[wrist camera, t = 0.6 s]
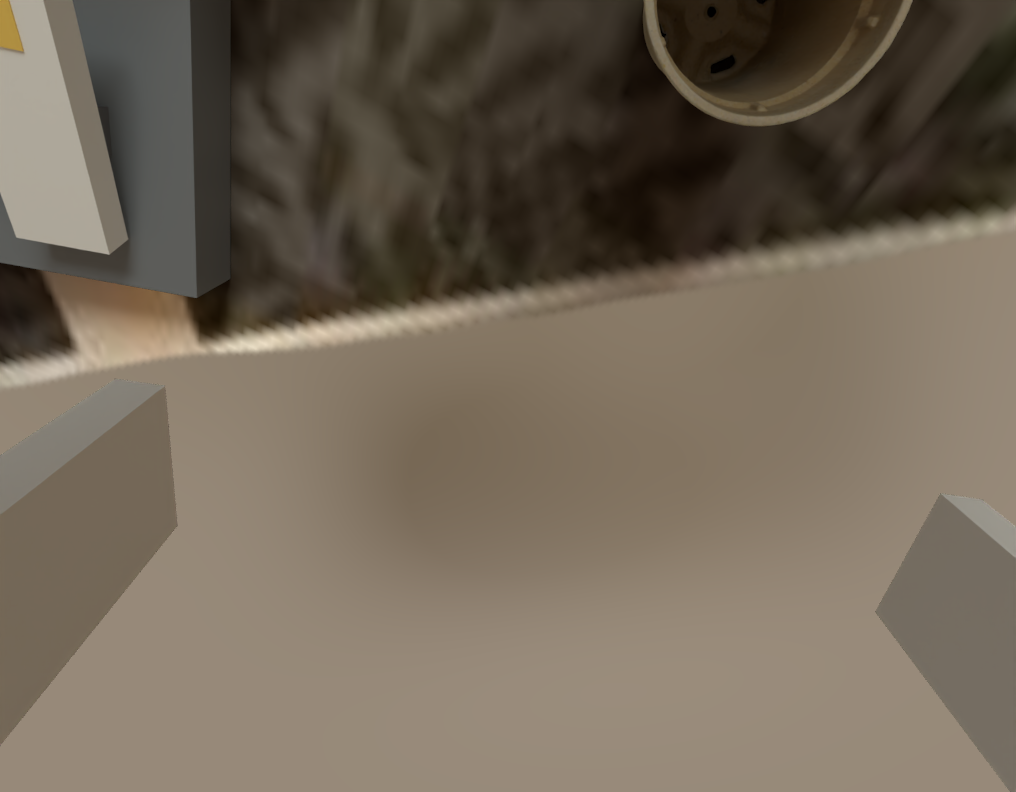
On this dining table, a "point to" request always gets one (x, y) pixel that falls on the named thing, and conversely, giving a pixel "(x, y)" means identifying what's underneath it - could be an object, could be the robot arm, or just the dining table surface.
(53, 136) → the block
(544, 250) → the dining table surface
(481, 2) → the dining table surface
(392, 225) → the dining table surface
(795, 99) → the flower pot
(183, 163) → the switch unit
